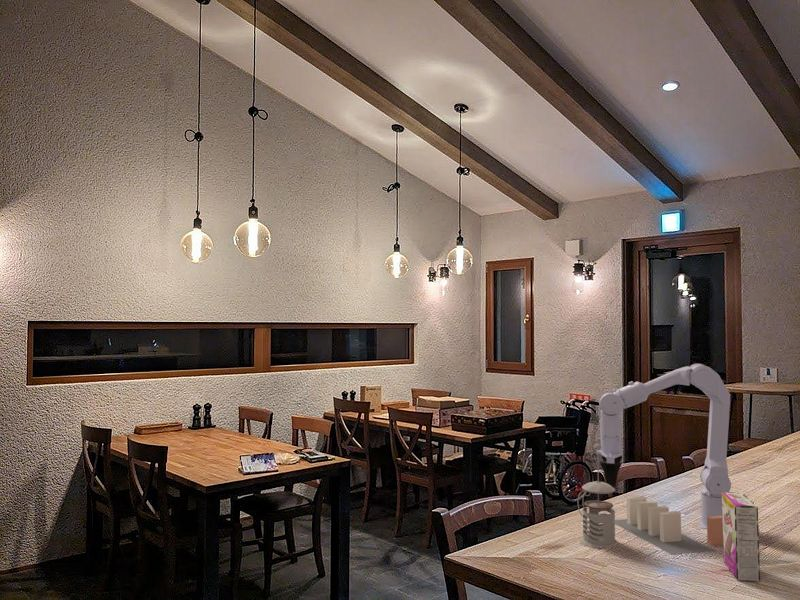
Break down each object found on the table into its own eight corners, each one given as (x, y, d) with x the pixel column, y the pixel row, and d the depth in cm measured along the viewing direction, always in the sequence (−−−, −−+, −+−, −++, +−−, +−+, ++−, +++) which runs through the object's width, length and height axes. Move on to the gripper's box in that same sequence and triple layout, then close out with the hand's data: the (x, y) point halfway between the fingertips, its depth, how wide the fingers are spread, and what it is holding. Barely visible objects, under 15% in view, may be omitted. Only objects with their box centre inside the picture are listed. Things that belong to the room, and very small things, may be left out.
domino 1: (627, 522, 185) (626, 497, 185) (643, 521, 186) (642, 496, 186) (630, 524, 183) (629, 498, 184) (646, 523, 185) (646, 497, 185)
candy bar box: (721, 562, 156) (720, 491, 156) (745, 564, 155) (743, 492, 155) (735, 581, 145) (734, 504, 145) (761, 583, 144) (759, 506, 144)
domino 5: (707, 545, 168) (706, 517, 168) (724, 543, 169) (724, 515, 169) (711, 547, 166) (711, 518, 166) (729, 545, 167) (728, 517, 168)
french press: (598, 551, 164) (597, 448, 164) (566, 538, 174) (564, 441, 175) (628, 545, 168) (626, 444, 169) (594, 532, 178) (593, 437, 179)
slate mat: (609, 521, 187) (609, 520, 187) (647, 518, 190) (647, 517, 190) (671, 556, 160) (671, 554, 160) (715, 552, 163) (715, 550, 163)
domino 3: (648, 534, 175) (647, 507, 175) (665, 532, 176) (664, 505, 177) (652, 536, 174) (651, 508, 174) (669, 534, 175) (668, 507, 175)
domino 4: (659, 540, 170) (659, 512, 171) (677, 538, 171) (676, 511, 172) (663, 542, 169) (663, 514, 169) (681, 540, 170) (680, 512, 170)
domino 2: (637, 528, 180) (637, 502, 180) (653, 526, 181) (653, 500, 181) (640, 530, 179) (640, 503, 179) (657, 528, 180) (657, 502, 180)
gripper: (597, 431, 198) (598, 477, 198) (594, 439, 184) (595, 489, 184) (622, 432, 196) (623, 479, 195) (621, 440, 182) (622, 491, 182)
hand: (611, 484), depth 190 cm, fingers open, 7 cm apart
